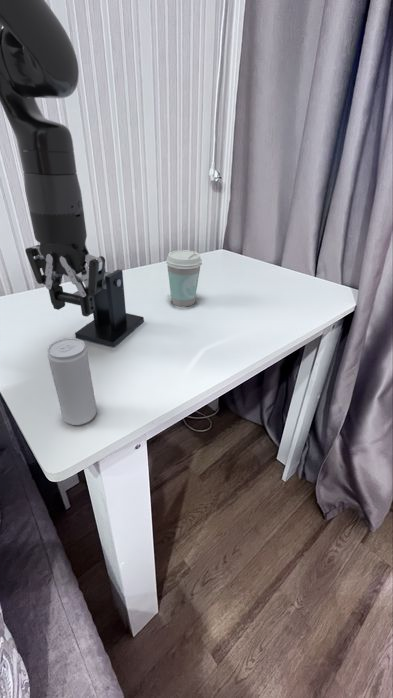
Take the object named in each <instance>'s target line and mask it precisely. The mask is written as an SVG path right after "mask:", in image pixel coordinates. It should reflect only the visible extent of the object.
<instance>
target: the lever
mask: <svg viewBox="0 0 393 698" xmlns="http://www.w3.org/2000/svg"><path fill="white" fill-rule="evenodd" d="M110 273H111V272H110V271H105V273H104V287H103V289H106V280H105V276H107V275H109V274H110ZM84 287H85V288H86V286H84ZM79 296H81V295H80V293H79V291H78V290H77V291H75V292H73V293H70V292H66V291H63V292H62V291H59V292H58V293H57V294H56V298H57V300H58V301H62V302H65V303H67V304H72V305H75V306H80V307H81V304H80V298H79Z"/></svg>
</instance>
